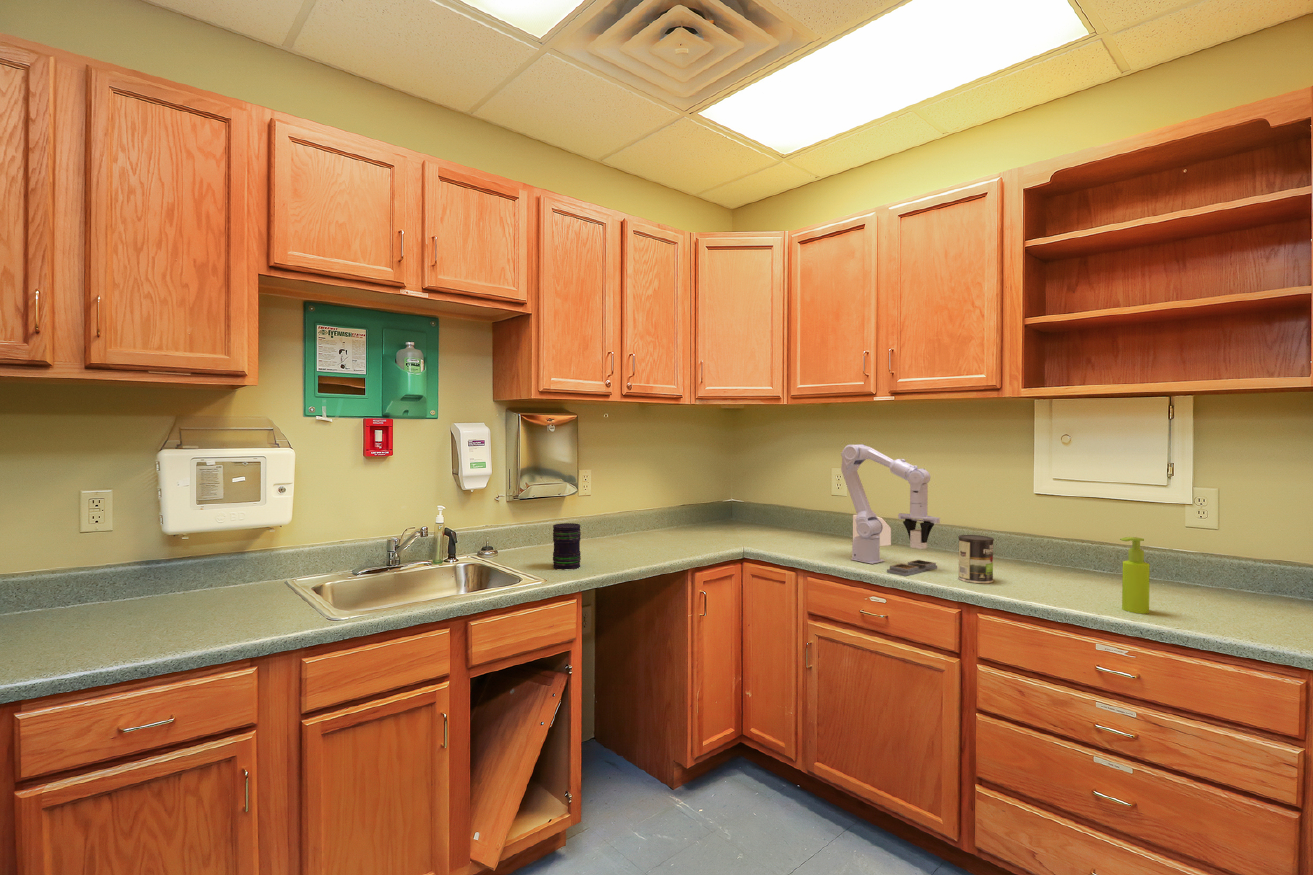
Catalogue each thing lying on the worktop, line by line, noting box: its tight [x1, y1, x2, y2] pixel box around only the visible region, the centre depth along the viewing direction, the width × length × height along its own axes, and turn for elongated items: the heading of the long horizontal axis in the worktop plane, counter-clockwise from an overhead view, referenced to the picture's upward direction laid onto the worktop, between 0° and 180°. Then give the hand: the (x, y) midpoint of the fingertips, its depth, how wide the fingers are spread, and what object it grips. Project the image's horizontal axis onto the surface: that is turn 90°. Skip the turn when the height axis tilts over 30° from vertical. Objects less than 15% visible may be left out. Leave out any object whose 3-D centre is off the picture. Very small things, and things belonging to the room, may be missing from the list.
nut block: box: [909, 528, 928, 550], centre depth 222 cm, size 4×4×6 cm
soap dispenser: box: [1119, 536, 1151, 615], centre depth 171 cm, size 6×7×20 cm
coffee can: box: [958, 534, 995, 585], centre depth 206 cm, size 10×10×14 cm
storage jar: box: [552, 522, 582, 570], centre depth 224 cm, size 10×10×15 cm
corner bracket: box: [852, 514, 892, 547], centre depth 270 cm, size 11×11×12 cm
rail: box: [886, 559, 938, 577], centre depth 219 cm, size 7×20×2 cm, turn 127°
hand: (918, 541), depth 221 cm, fingers closed on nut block, 4 cm apart
